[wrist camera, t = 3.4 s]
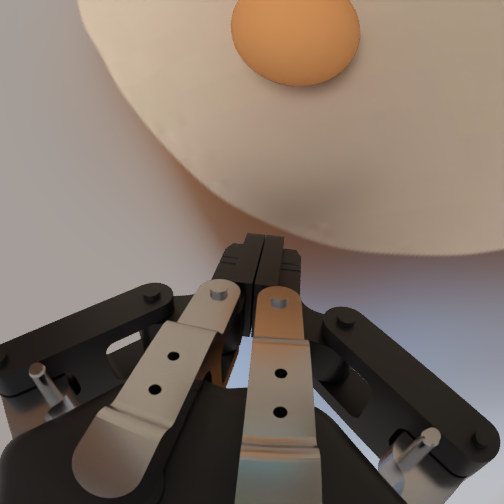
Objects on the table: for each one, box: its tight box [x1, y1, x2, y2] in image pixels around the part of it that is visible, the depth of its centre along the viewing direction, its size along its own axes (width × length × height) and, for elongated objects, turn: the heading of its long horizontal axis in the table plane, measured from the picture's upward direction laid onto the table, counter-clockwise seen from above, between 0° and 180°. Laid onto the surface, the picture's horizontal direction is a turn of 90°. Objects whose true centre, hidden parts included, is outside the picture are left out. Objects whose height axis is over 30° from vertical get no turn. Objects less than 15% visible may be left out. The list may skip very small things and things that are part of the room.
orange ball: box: [231, 0, 360, 86], centre depth 12 cm, size 6×6×6 cm
